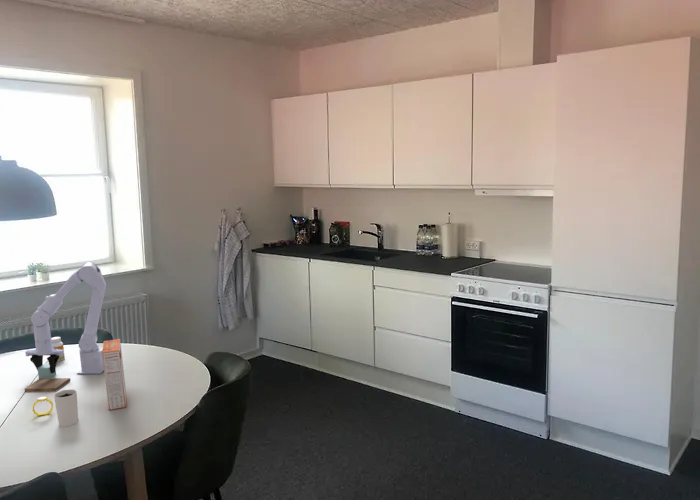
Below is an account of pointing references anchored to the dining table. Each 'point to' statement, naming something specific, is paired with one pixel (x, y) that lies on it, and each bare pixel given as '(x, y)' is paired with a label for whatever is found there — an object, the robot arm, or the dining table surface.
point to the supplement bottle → (58, 346)
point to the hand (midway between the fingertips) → (47, 372)
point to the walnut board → (47, 384)
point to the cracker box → (114, 374)
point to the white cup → (66, 407)
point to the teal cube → (45, 371)
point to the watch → (40, 401)
